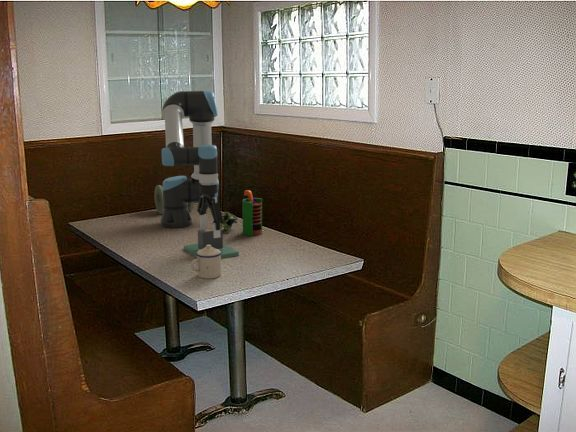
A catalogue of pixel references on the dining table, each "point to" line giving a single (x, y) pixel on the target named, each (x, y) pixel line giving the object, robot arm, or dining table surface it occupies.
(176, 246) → the dining table surface
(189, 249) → the header board
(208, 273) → the teacup with lid
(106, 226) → the dining table surface
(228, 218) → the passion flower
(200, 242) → the plug housing
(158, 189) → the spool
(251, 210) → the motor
